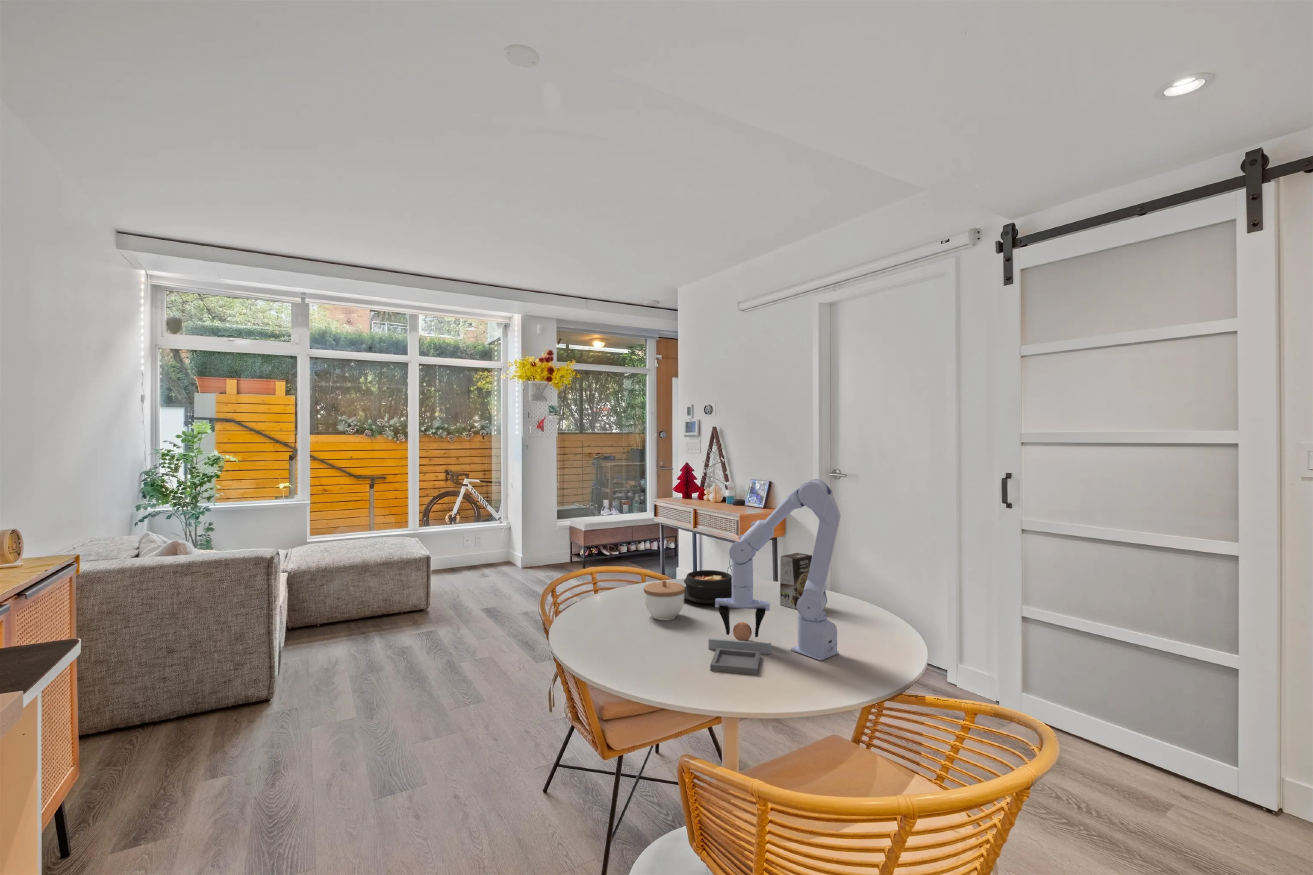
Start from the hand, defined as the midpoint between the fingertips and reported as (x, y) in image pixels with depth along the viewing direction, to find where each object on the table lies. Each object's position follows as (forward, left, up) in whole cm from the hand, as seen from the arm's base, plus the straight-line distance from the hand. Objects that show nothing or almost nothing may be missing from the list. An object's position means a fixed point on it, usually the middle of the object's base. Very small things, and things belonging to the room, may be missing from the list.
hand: (742, 634), depth 162 cm
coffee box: (+11, -38, -2) cm, 40 cm away
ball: (0, 0, -2) cm, 2 cm away
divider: (-5, +6, -2) cm, 8 cm away
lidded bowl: (+29, +3, -2) cm, 30 cm away
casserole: (+33, -20, -2) cm, 39 cm away
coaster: (-10, +13, -2) cm, 16 cm away
